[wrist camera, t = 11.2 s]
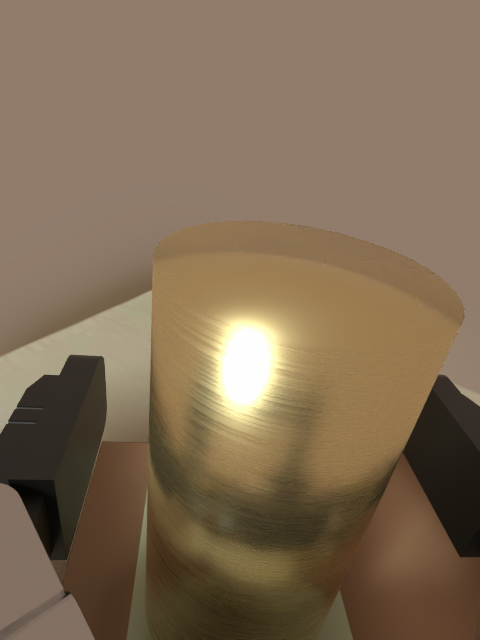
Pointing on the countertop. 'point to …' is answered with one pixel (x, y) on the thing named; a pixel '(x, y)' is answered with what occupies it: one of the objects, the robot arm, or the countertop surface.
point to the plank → (354, 594)
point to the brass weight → (277, 418)
